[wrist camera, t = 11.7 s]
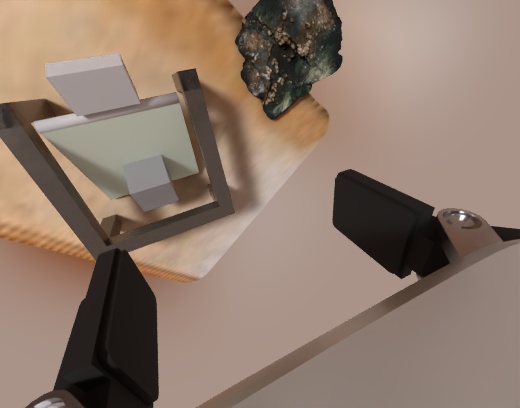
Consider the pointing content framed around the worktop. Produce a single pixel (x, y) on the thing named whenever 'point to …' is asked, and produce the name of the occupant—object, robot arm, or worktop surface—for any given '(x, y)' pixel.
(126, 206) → the worktop surface
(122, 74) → the trapdoor
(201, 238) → the worktop surface
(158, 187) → the grey cube
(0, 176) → the worktop surface
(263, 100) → the decorative rock
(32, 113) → the frame
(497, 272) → the robot arm
